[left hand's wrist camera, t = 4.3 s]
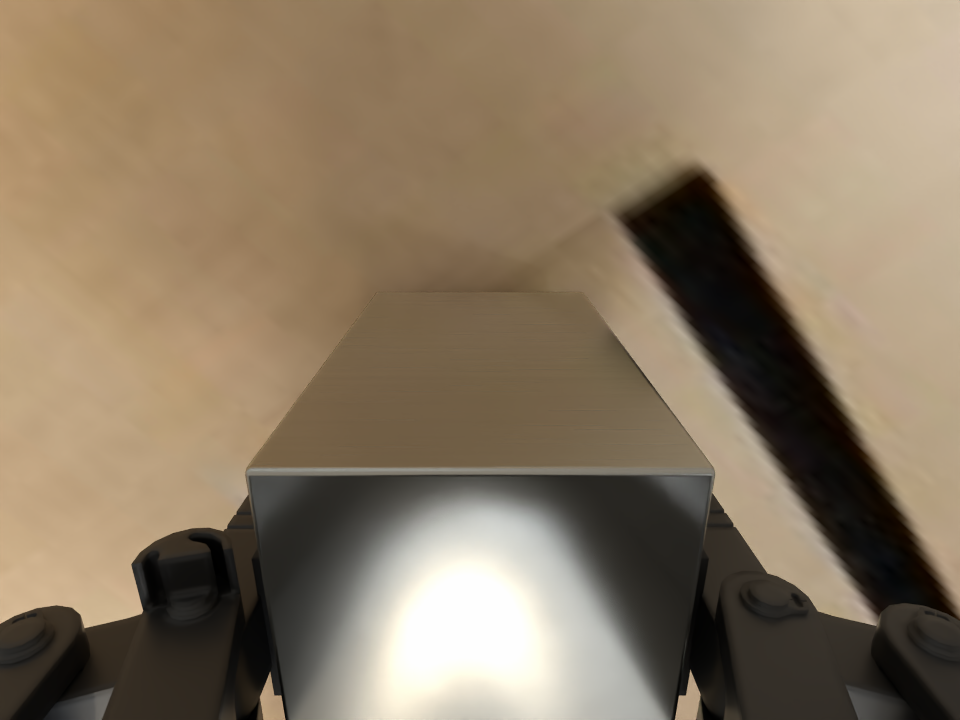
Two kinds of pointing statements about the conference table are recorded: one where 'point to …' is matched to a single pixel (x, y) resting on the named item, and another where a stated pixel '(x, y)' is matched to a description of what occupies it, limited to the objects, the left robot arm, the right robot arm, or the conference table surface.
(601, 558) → the bar
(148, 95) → the conference table surface
